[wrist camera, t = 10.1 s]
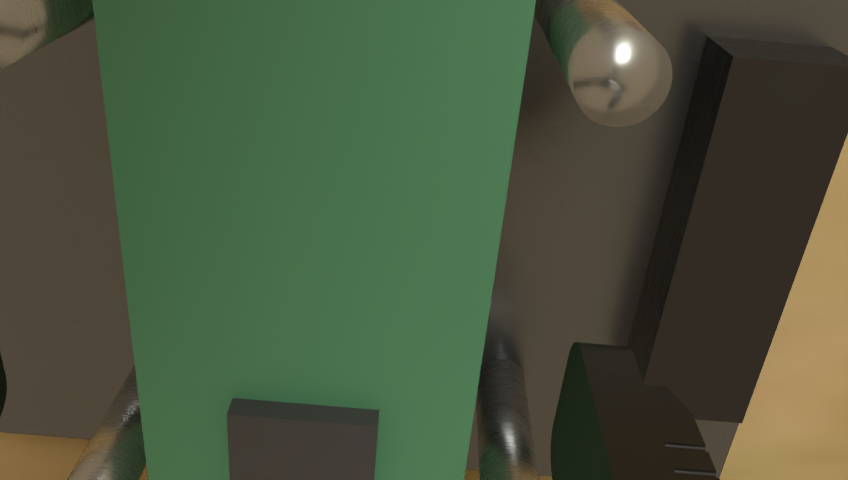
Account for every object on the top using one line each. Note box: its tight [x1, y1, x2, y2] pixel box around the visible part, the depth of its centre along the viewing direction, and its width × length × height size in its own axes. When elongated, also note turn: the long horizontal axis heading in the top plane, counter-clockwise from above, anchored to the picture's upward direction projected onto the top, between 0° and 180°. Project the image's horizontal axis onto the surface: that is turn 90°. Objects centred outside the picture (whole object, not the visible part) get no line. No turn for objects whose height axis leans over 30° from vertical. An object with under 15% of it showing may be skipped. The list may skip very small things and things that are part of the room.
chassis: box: [0, 0, 848, 480], centre depth 14 cm, size 15×20×6 cm
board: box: [92, 0, 536, 480], centre depth 13 cm, size 12×6×3 cm, turn 175°
